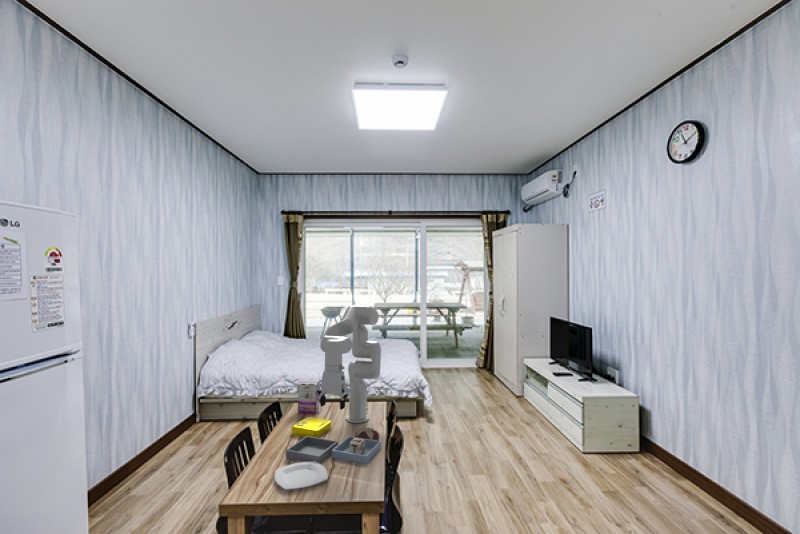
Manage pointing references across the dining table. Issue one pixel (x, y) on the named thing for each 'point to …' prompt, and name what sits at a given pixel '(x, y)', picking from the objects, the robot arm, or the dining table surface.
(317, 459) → the charcoal bin
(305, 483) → the plate
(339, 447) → the slate bin
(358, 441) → the letter cube
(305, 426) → the element tile
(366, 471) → the dining table surface
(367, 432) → the bread
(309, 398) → the candy bar box
